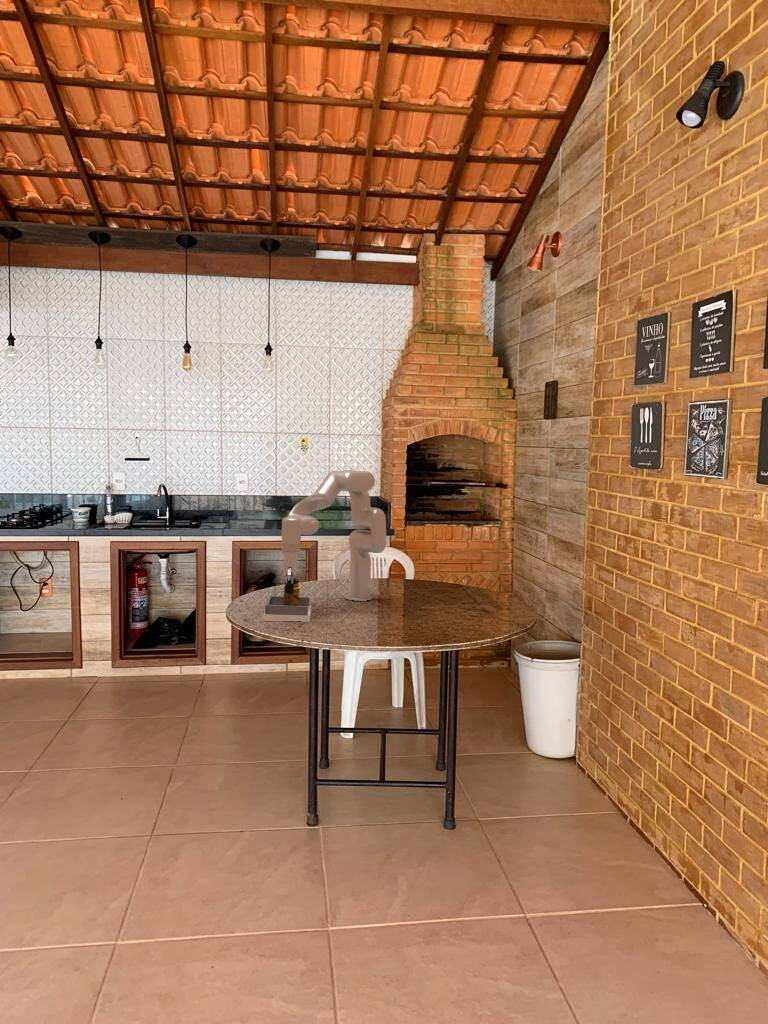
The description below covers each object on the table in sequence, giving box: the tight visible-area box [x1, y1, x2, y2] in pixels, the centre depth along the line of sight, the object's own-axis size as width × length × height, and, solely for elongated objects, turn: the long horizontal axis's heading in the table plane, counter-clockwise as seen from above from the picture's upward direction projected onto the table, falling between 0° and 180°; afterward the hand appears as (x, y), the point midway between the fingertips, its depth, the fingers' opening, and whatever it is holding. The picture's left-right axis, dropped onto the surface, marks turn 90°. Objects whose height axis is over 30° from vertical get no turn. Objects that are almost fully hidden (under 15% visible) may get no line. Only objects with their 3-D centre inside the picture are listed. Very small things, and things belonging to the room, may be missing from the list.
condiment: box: [283, 579, 300, 606], centre depth 278 cm, size 7×8×12 cm
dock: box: [262, 595, 312, 623], centre depth 279 cm, size 18×18×6 cm
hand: (289, 590), depth 279 cm, fingers open, 9 cm apart
